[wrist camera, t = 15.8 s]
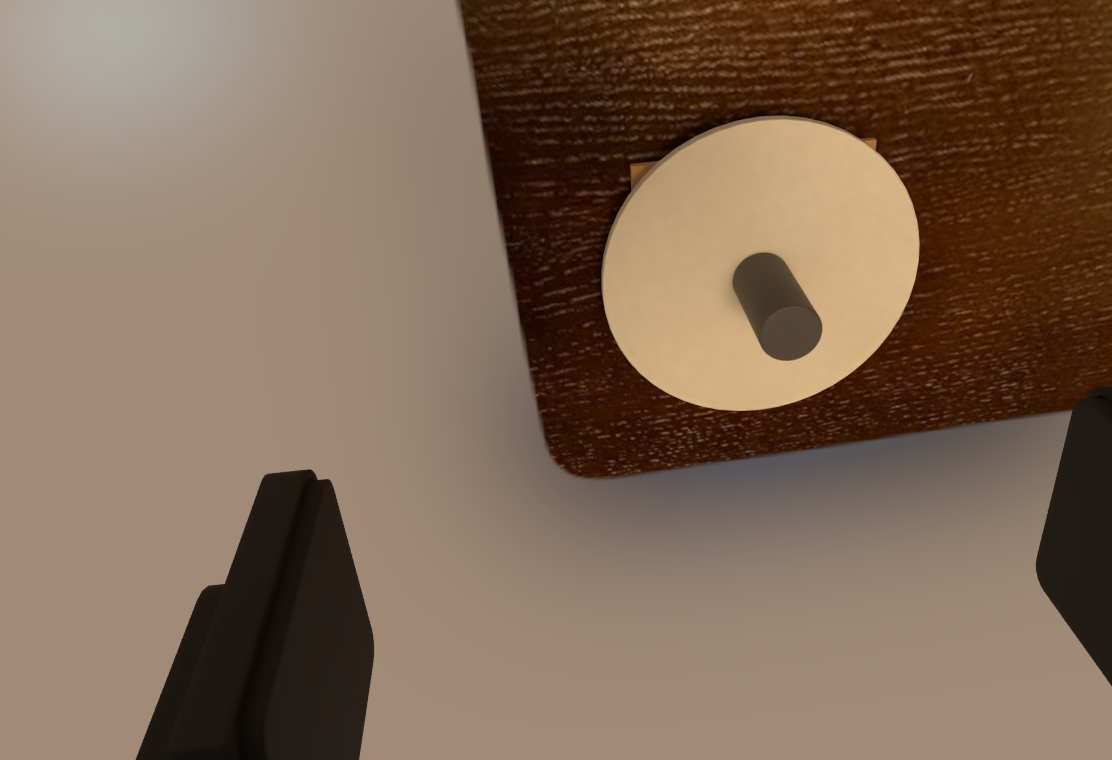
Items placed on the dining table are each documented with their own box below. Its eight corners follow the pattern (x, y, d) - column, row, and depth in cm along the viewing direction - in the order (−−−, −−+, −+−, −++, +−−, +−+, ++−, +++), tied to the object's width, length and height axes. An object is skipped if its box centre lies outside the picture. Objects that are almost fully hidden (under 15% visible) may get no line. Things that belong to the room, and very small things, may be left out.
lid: (610, 411, 43) (624, 493, 38) (587, 130, 37) (600, 182, 31) (894, 381, 43) (947, 459, 38) (925, 93, 36) (996, 139, 31)
